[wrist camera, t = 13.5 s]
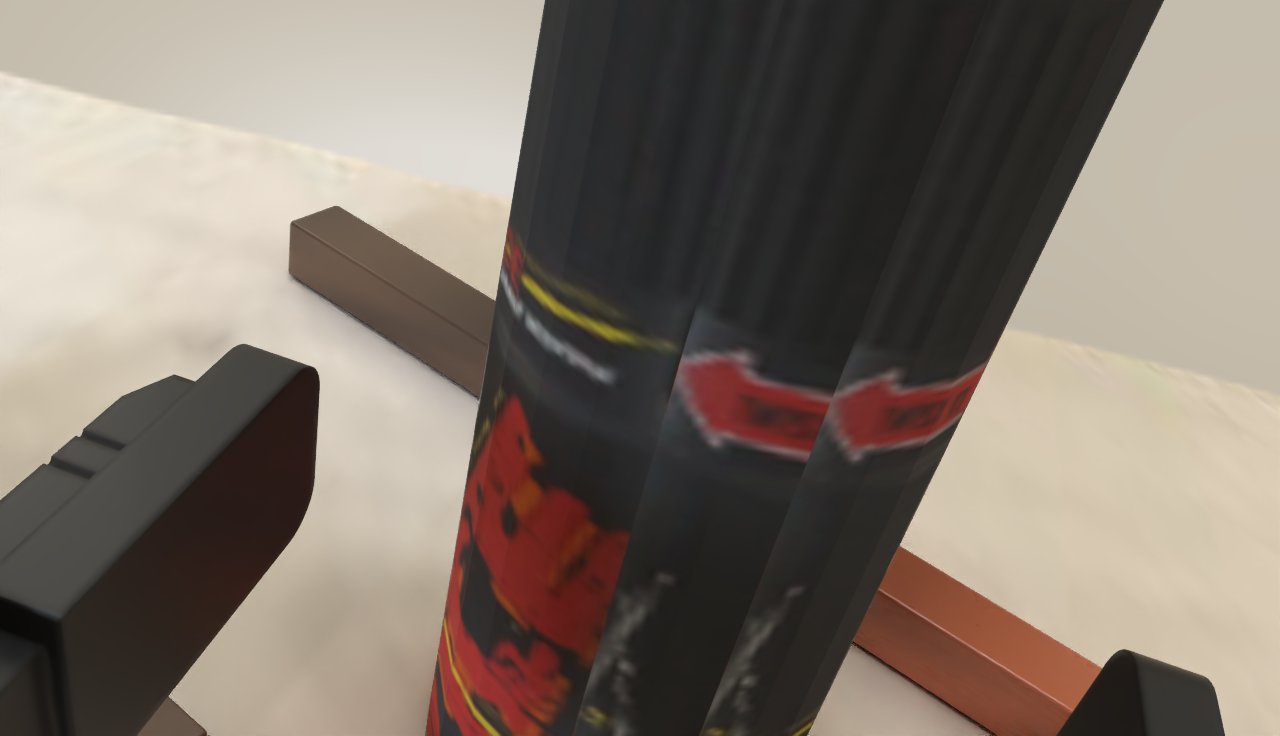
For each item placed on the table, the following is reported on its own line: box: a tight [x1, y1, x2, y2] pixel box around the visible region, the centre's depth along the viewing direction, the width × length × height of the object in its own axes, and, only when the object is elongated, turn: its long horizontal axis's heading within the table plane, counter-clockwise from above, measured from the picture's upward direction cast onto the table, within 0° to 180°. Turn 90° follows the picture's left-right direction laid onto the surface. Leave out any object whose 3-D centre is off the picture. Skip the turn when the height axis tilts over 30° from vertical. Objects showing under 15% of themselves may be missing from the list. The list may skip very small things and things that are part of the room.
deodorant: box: [425, 0, 1164, 736], centre depth 15 cm, size 6×6×15 cm
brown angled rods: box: [137, 206, 1102, 736], centre depth 20 cm, size 22×13×2 cm, turn 54°
